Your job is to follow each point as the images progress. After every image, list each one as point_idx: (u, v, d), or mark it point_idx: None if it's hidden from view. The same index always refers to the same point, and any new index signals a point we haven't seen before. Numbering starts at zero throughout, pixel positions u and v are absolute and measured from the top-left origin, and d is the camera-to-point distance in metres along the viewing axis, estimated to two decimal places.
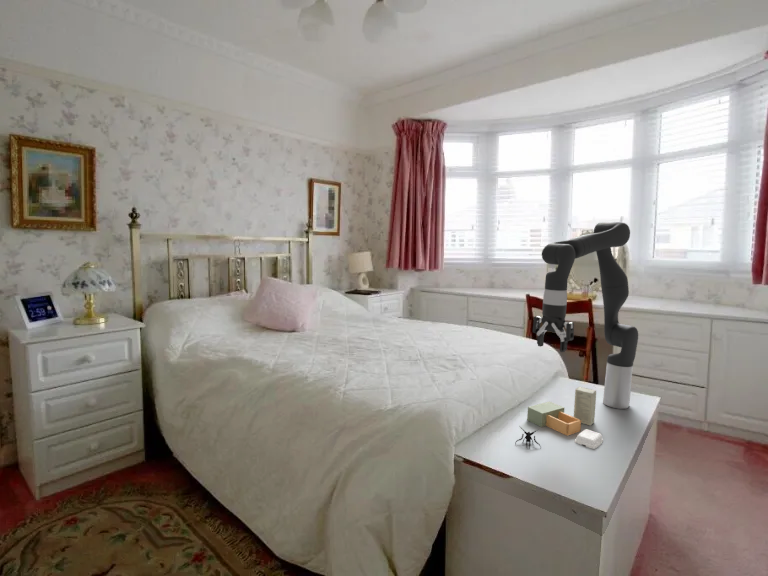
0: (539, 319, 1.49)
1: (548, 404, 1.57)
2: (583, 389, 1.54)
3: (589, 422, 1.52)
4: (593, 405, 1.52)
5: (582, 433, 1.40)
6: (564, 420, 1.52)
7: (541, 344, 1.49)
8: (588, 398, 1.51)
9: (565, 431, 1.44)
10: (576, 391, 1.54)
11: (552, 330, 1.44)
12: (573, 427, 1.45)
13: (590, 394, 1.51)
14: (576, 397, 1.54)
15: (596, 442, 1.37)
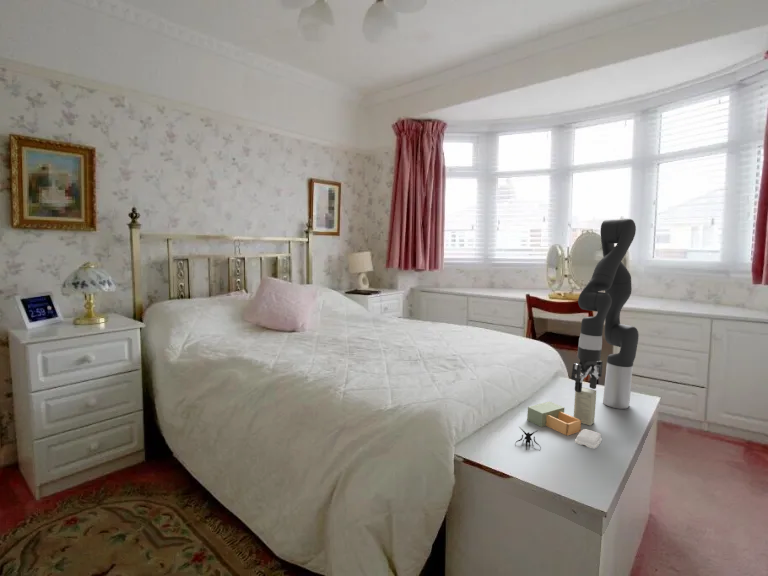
0: None
1: (548, 404, 1.57)
2: (583, 389, 1.54)
3: (589, 422, 1.52)
4: (593, 405, 1.52)
5: (581, 433, 1.40)
6: (564, 420, 1.52)
7: None
8: (588, 398, 1.51)
9: (565, 431, 1.44)
10: None
11: (591, 372, 1.53)
12: (573, 427, 1.45)
13: (590, 394, 1.51)
14: (576, 397, 1.54)
15: (596, 442, 1.37)
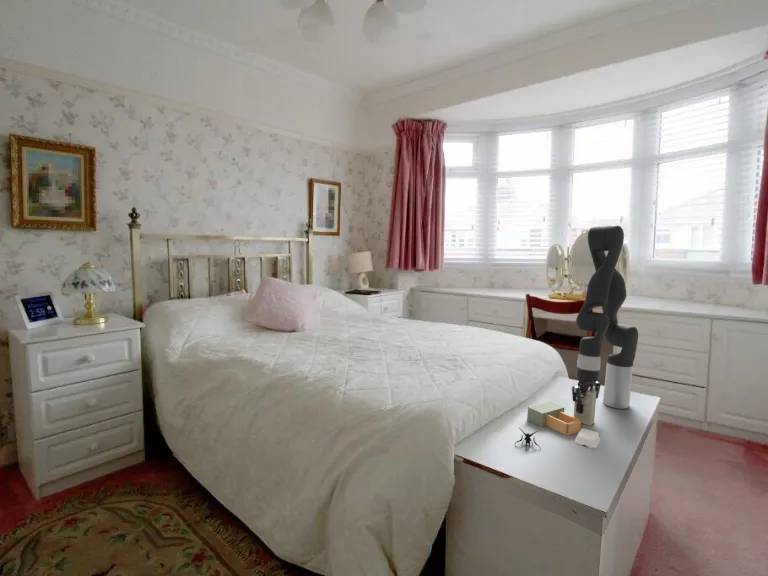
0: None
1: (548, 404, 1.57)
2: None
3: (589, 422, 1.52)
4: (593, 405, 1.52)
5: (581, 433, 1.40)
6: (564, 420, 1.52)
7: None
8: (588, 398, 1.51)
9: (565, 431, 1.44)
10: None
11: None
12: (573, 427, 1.45)
13: (590, 394, 1.51)
14: (576, 397, 1.54)
15: (596, 441, 1.37)
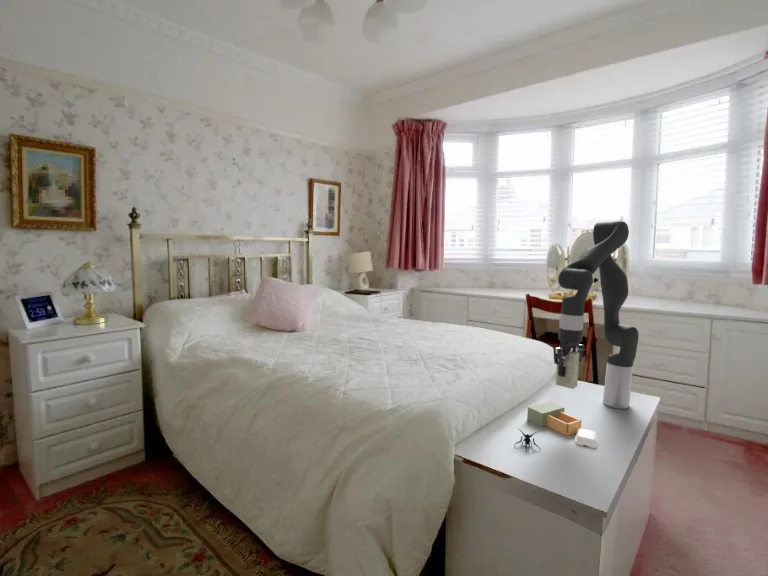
0: None
1: (548, 404, 1.57)
2: None
3: (571, 385, 1.44)
4: (576, 367, 1.44)
5: (580, 433, 1.40)
6: (564, 420, 1.52)
7: None
8: (571, 360, 1.44)
9: (565, 431, 1.44)
10: None
11: None
12: (573, 427, 1.45)
13: (572, 355, 1.43)
14: None
15: (596, 441, 1.37)
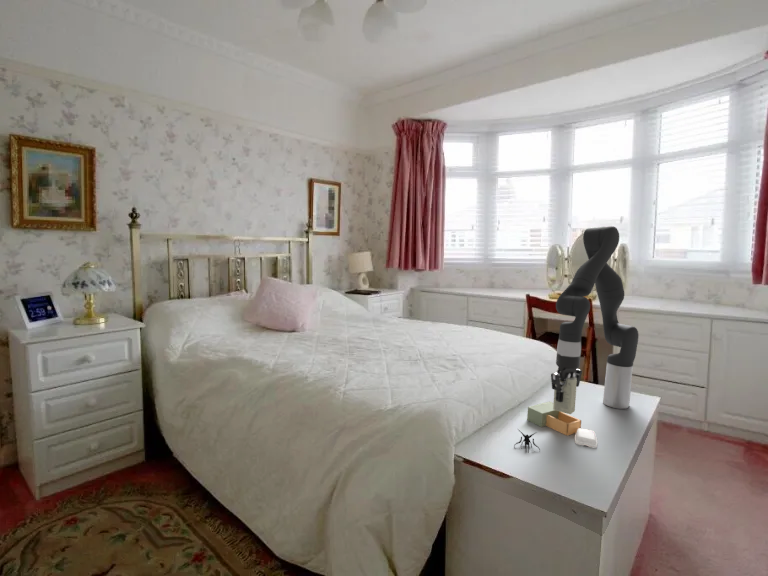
0: (558, 375, 1.44)
1: (548, 404, 1.57)
2: None
3: (569, 411, 1.45)
4: (573, 393, 1.45)
5: (580, 433, 1.40)
6: (564, 420, 1.52)
7: None
8: (568, 386, 1.45)
9: (565, 431, 1.44)
10: None
11: None
12: (573, 427, 1.45)
13: (570, 381, 1.44)
14: None
15: (596, 441, 1.38)
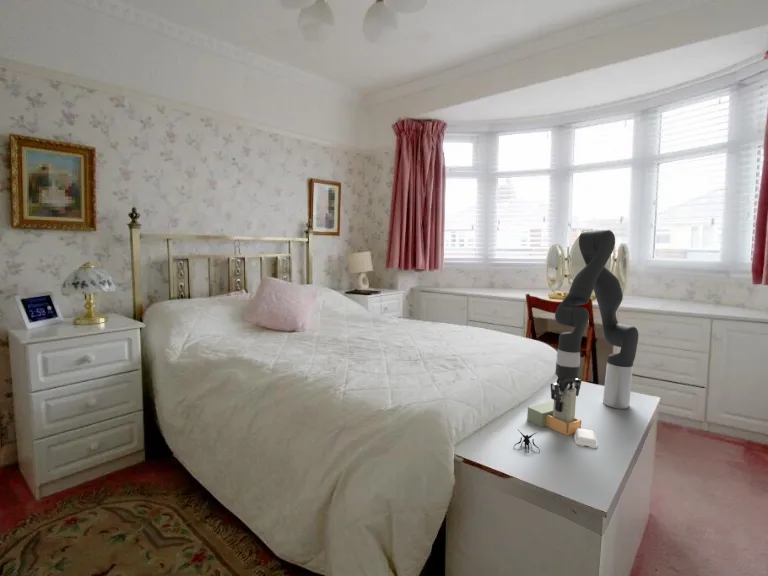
0: None
1: (548, 404, 1.57)
2: None
3: (568, 422, 1.46)
4: (572, 405, 1.46)
5: (580, 434, 1.40)
6: None
7: None
8: (567, 397, 1.45)
9: (565, 431, 1.44)
10: None
11: (569, 389, 1.47)
12: (573, 427, 1.45)
13: (569, 393, 1.45)
14: None
15: (596, 440, 1.38)
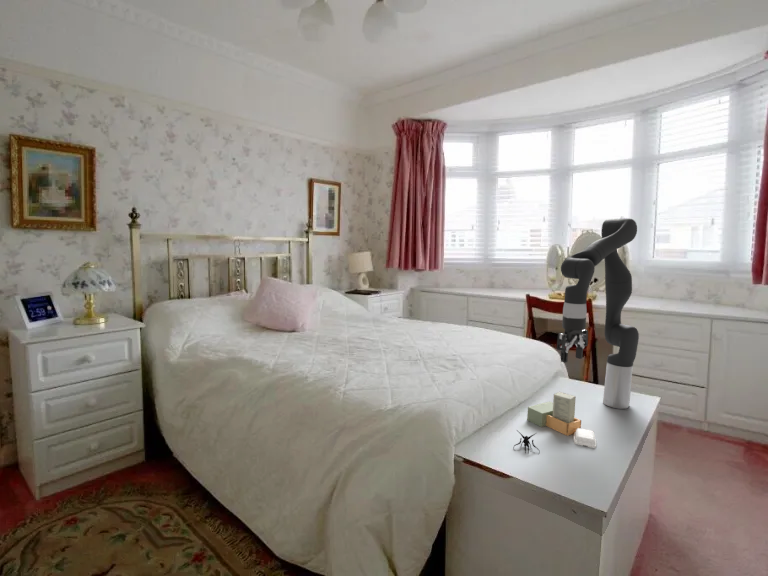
0: None
1: (548, 404, 1.57)
2: (562, 394, 1.48)
3: None
4: (571, 411, 1.46)
5: (579, 433, 1.40)
6: None
7: None
8: (566, 404, 1.45)
9: (565, 431, 1.44)
10: (554, 396, 1.48)
11: (576, 342, 1.49)
12: (573, 427, 1.45)
13: (568, 400, 1.45)
14: (554, 402, 1.49)
15: (595, 441, 1.38)
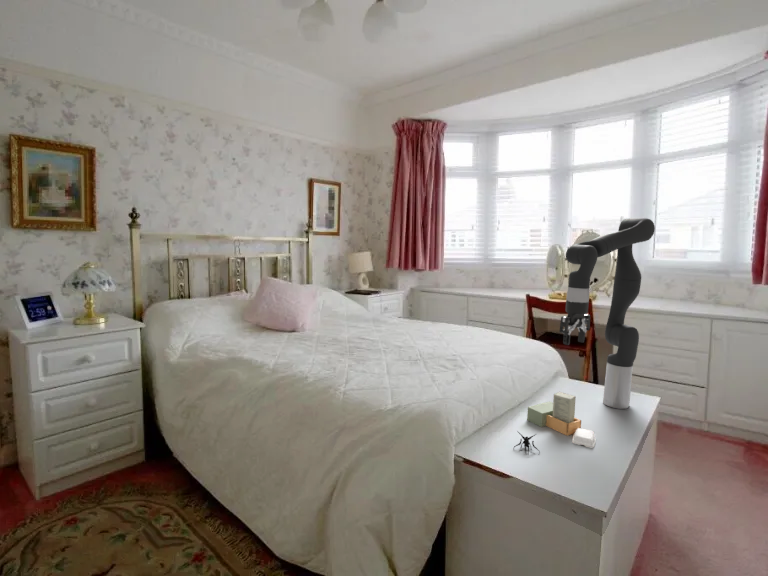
0: None
1: (548, 404, 1.57)
2: (562, 394, 1.48)
3: None
4: (571, 411, 1.46)
5: (578, 433, 1.40)
6: None
7: None
8: (566, 404, 1.45)
9: (565, 431, 1.44)
10: (554, 396, 1.48)
11: (578, 325, 1.55)
12: (573, 427, 1.45)
13: (568, 400, 1.45)
14: (554, 402, 1.49)
15: (593, 441, 1.38)
